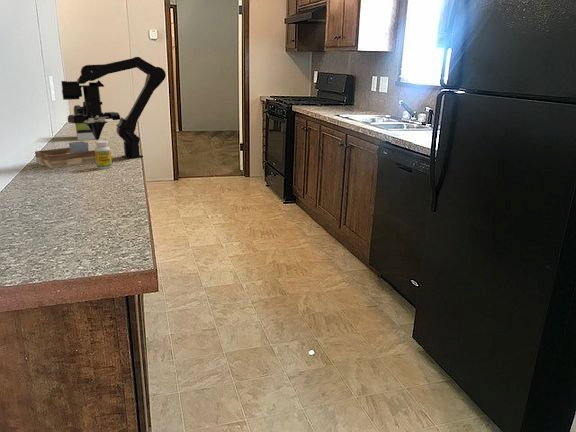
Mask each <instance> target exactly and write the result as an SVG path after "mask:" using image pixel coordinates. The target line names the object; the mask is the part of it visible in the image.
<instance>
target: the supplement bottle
mask: <svg viewBox="0 0 576 432" xmlns="http://www.w3.org/2000/svg"><path fill="white" fill-rule="evenodd" d="M108 145H109V143H108V140H100V141H99V140H98V141H97V140H96V141H95V146H96V147H95V148H94V150H95V156H96V162H95V163H96V168H97V169H98V170H104V169H105V170H107V169H111V168H113V162H112V161H113V160H112V152H111V151H112V150H111V147H109V146H108Z"/></svg>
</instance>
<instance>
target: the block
mask: <svg viewBox="0 0 576 432" xmlns="http://www.w3.org/2000/svg"><path fill="white" fill-rule="evenodd" d="M68 146H69V147H68V148H70V153H77V152H85V151H90V150H89V144H88V142H86V141H83V140H80V141H73V142H68Z"/></svg>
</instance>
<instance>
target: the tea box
mask: <svg viewBox="0 0 576 432" xmlns="http://www.w3.org/2000/svg"><path fill="white" fill-rule="evenodd" d="M73 115H76V114H75V112H74V111H73ZM78 115H80V114H78ZM92 117H93V116H92ZM84 122H85V121H84ZM74 124H75V131H76V137H77V140H79V141H92V140H91V139H95V137H94V135H93V133H92V131H91V129H90V128H89V126H88V125H87V124H84V123H74Z"/></svg>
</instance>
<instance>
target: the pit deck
mask: <svg viewBox="0 0 576 432" xmlns="http://www.w3.org/2000/svg"><path fill="white" fill-rule="evenodd" d="M34 153H35V160H36V161H35V162H36V163H37V162H38V163H40V164H39V165H41V164H43V165H42V166H44V165H45V166H44V167H46V168H47V167H48V168H50V169H58V168H65V167H73V166H80V165H85V164H93V163H96V156H95V149H94V150H89V151H85V152H77V153H70V148H69V147H62V148H53V149H45V150H36V151H34ZM38 163H37V164H38Z"/></svg>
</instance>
